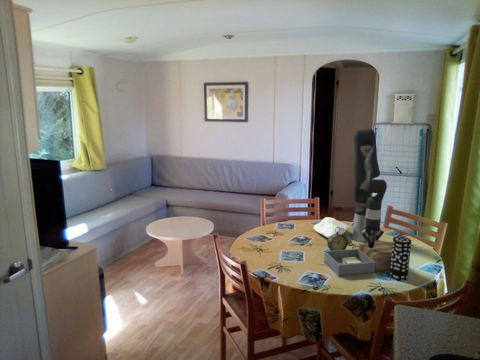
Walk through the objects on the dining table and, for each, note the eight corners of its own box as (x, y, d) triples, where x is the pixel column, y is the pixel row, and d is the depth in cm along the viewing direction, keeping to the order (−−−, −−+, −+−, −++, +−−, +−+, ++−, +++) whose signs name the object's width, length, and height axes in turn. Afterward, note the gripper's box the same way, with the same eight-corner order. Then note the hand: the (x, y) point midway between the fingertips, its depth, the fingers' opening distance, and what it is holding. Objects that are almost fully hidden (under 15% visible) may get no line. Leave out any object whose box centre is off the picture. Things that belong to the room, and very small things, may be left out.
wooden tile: (355, 257, 197) (354, 262, 197) (342, 257, 196) (342, 263, 196) (361, 262, 190) (360, 267, 191) (348, 263, 189) (348, 268, 190)
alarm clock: (330, 256, 207) (331, 229, 203) (325, 252, 212) (326, 226, 208) (347, 254, 210) (348, 227, 206) (342, 250, 215) (343, 224, 211)
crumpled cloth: (345, 224, 257) (344, 212, 256) (357, 242, 223) (355, 228, 221) (312, 228, 260) (310, 216, 258) (318, 246, 226) (317, 233, 224)
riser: (358, 258, 204) (359, 243, 202) (381, 256, 206) (382, 241, 204) (375, 273, 186) (377, 256, 184) (400, 270, 189) (401, 254, 187)
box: (324, 261, 200) (324, 251, 199) (357, 258, 204) (358, 248, 202) (338, 276, 183) (339, 265, 181) (374, 273, 186) (375, 262, 185)
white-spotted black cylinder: (402, 273, 186) (406, 236, 182) (410, 280, 178) (414, 242, 174) (386, 273, 186) (390, 236, 182) (394, 281, 178) (397, 242, 174)
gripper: (380, 214, 194) (378, 244, 198) (358, 215, 192) (355, 246, 195) (388, 218, 187) (386, 249, 191) (365, 219, 185) (363, 251, 188)
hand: (370, 247), depth 193 cm, fingers closed
